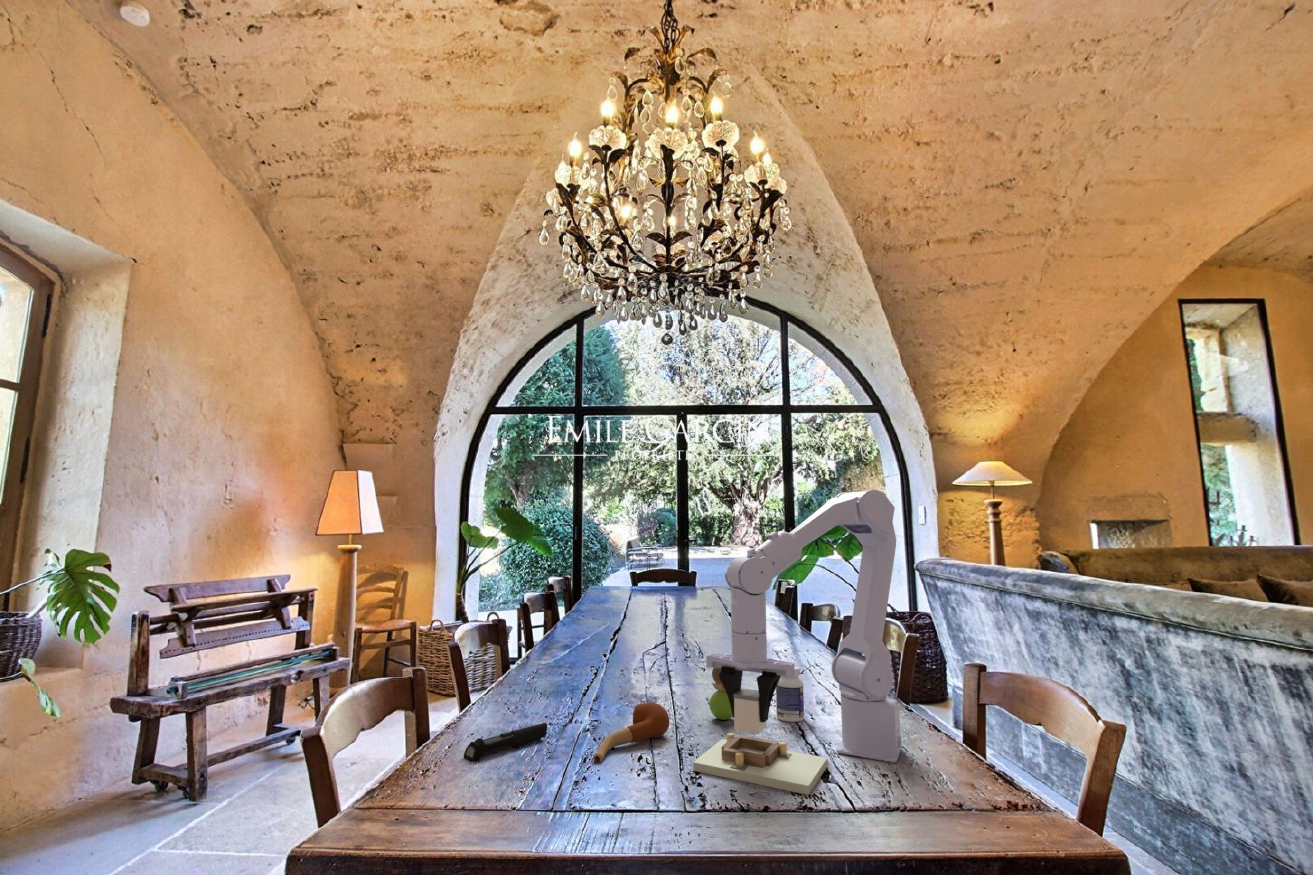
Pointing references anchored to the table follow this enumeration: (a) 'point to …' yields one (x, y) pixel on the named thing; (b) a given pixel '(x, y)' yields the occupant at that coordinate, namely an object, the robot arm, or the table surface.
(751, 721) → the plug block
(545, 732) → the electric trimmer
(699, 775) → the table surface
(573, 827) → the table surface
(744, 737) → the socket collar
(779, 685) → the pill bottle
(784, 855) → the table surface
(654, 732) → the smoking pipe
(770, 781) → the board
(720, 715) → the snail figurine
